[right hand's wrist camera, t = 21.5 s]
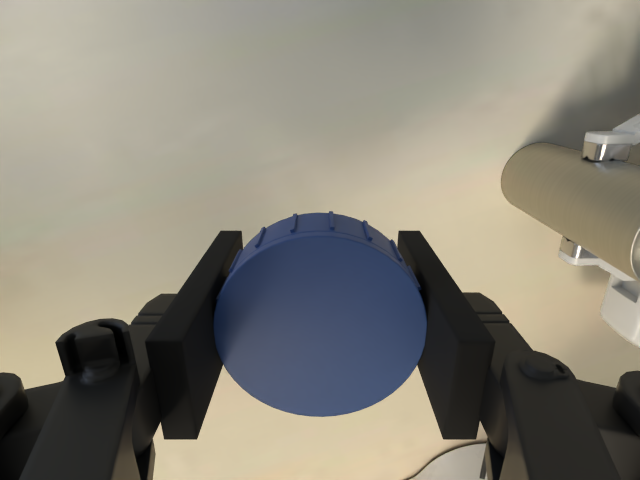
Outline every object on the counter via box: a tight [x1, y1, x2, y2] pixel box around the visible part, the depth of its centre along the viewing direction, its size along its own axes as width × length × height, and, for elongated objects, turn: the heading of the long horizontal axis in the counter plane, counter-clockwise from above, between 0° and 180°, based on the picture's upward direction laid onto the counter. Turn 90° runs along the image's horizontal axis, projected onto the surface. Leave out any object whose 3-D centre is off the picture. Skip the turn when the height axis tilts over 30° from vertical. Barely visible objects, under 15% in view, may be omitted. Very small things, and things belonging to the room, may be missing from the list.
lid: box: [213, 211, 427, 417], centre depth 11 cm, size 6×6×2 cm
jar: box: [501, 143, 640, 283], centre depth 23 cm, size 5×5×15 cm
